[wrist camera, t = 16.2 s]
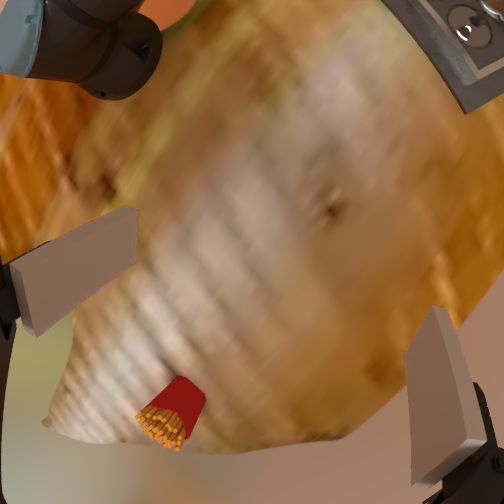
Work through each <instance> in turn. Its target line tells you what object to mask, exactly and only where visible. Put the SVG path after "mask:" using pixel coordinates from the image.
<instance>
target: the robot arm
mask: <svg viewBox="0 0 504 504" xmlns="http://www.w3.org/2000/svg"><path fill="white" fill-rule="evenodd" d="M141 1H142V0H8V1H7V3H6V4H5V6H4V8H3V10H2V12H1V15H0V72H1V73H4V74H9V75H15V76H18V77H20V78H35V79H45V80H55V81H63V82H71V83H75V84H77V85H78V86H79V87H81V88H82V89H84V90H85V91H86V92H88V93H89V94H91V95H92V96H94V97H96V98H99V99H105V100H120V99H123V98H126V97H128V96H130V95H132V94H133V93H135V92H136V91H137V90H139V89H140V88H141V87H142V86H143V85H144V84H145V83H146V82H147V80H148V79H149V78H150V76H151V75H152V73H153V72H154V70H155V68H156V66H157V63H158V61H159V58H160V54H161V48H162V38H161V33H160V30H159V28H158V27H157V25H156V24H155V22H153V21H152V20H151V19H149V18H148V17H146V16H144V15H142V14H140V13H137V12H129V11H130V10H131V9H132V8H133V7H135V6H136V5H137V4H139V3H140V2H141ZM138 213H139V210H138V209H135V208H132V207H129V206H123V207H121V208H119V209H117V210H114V211H112V212H110V213H108V214H106V215H103V216H101V217H99V218H97V219H95V220H93V221H91V222H88V223H86V224H84V225H82V226H80V227H78V228H76V229H74V230H72V231H70V232H68V233H66V234H64V235H62V236H60V237H58V238H56V239H54V240H52V241H48V242H45V243H43V244H41V245H39V246H38V247H37V248H34V249H32V250H30V251H29V253H28V252H26V253H24V254H23V255H21V256H19V257H17V258H15V259H13V260H12V261H10V262H8V263H6V264H4V265H3V266H2V261H1V256H0V504H7V503H6V500H5V499H4V496H3V493H2V484H1V440H2V422H3V410H4V400H5V390H6V384H7V377H8V370H9V364H10V358H11V353H12V348H13V342H14V338H15V333H16V321H15V320H16V319H18V318H19V317H20V316H21V319H22V323H23V326H24V329H25V330H26V331H27V332H29V333H30V334H32V335H33V336H34V337H36V338H38V337H39V336H40V335H41V334H43V333H44V332H45V331H46V330H47V329H49V328H50V327H51V326H53V325H54V324H55V323H57V322H58V321H59V320H60V319H62V318H63V317H64V316H66V314H68V313H69V312H71V311H72V310H73V309H75V308H76V307H77V306H78V305H80V304H81V303H82V302H84V301H85V300H86V299H88V298H89V297H90V296H92V295H93V294H94V293H96V292H97V291H98V290H100V289H101V288H102V287H104V286H105V285H106V284H108V283H109V282H110V281H112V280H113V279H115V278H116V277H117V276H119V275H120V274H121V273H123V272H124V271H126V270H127V269H128V268H130V267H131V266H132V265H134V264H135V263H136V248H137V228H138ZM404 362H405V371H406V380H407V390H408V401H409V416H410V434H411V435H410V436H411V486H413V487H424V488H431V487H432V486H434V485H435V484H436V483H437V482H439V481H440V480H442V489H441V490H439V491H438V492H437V493H435V494H434V495H432V496H431V497H429V498H428V499H426V500H425V501H424V502H422V503H423V504H426V503H427V502H428V503H427V504H504V449H503V448H500V447H498V446H497V441H496V437H495V433H494V428H493V425H492V421H491V417H490V416H489V415H490V413H489V409H488V407H487V402H486V399H485V395H484V393H483V391H482V390H481V388H480V387H479V385H478V384H477V383H475V382H472V379H471V376H470V372H469V369H468V366H467V363H466V360H465V357H464V354H463V351H462V348H461V345H460V342H459V340H458V337H457V334H456V331H455V329H454V326H453V323H452V321H451V318H450V316H449V313H448V311H447V310H446V309H443V308H440V307H437V306H434V305H432V307H431V309H430V310H429V312H428V314H427V316H426V318H425V320H424V321H423V323H422V325H421V327H420V328H419V330H418V332H417V334H416V335H415V337H414V339H413V340H412V342H411V344H410V345H409V347H408V349H407V350H406V352H405V354H404Z"/></svg>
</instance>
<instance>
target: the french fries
mask: <svg viewBox="0 0 504 504" xmlns="http://www.w3.org/2000/svg"><path fill="white" fill-rule="evenodd" d="M205 401H206V398H205V395H204V393H203V392H202V391H201V390H200V389H199V388H198V387H196V386H195V385H194V384H193V383H192V382H191V381H190V380H188V379H187V378H185V377H182V376H178V377H177V378H175V379H174V380H173V381H172V382H171V383H170V384H169V385H168V386H167V387H166V388H165V389H164V390H163V391H162V392H161V393H160V394H158V395H157V396H156V397H155V398H154V399H153V400H152V401H151V402H150V403H149V404H148V405H147V406H146V407H145V408H144V409H142V410H141V411H139V413H138V414H137V415H136V416H135V418H136V420H138V419H140V418H141V417H142V418H141V419H140V420H139V421H138V423H139V424H140V427H141V428H142V429H144V428H146V427H147V426H148V425H149V423H150V422H151V421H152V420H153V421H152V422H151V424H150V425H149V426H148V427H147V428H146V429H145V431H144V433H145V434H149V438H150V439H152V438H154V439H155V440H158V443H159V444H161V443H163V442H164V444H163V446H164V447H168V448H169V449H170V448H172V447H173V445H174V444H177V445H176V447H175V450H176V451H177V452H178V451H179V450H180V448H181V446H182V444H183V442H184V440H186V439H188V438H190V435H191V433H192V431H193V428H194V426H195V424H196V422H197V419H198V417H199V415H200V413H201V410H202V408H203V406H204V403H205Z"/></svg>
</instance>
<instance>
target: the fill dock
mask: <svg viewBox="0 0 504 504" xmlns="http://www.w3.org/2000/svg"><path fill="white" fill-rule="evenodd" d="M381 1H382V2H383V3H384V4H385V5H386V6H387V7H388V9H389V10H390V11H391V12H392V13H393V14H394V15H395V16H396V18H397V19H398V20H399V21H400V22H401V23H402V25H403V26H404V27H405V28H406V29H407V31H408V32H409V33H410V34H411V36H412V37H413V38H414V39H415V41H416V42H417V43H418V45H419V46H420V47H421V49H422V50H423V51H424V53H425V54H426V55H427V57H428V58H429V59H430V61H431V62H432V64H433V65H434V66H435V68H436V69H437V71H438V72H439V74H440V75H441V77H442V78H443V80H444V81H445V83H446V84H447V86H448V87H449V89H450V91H451V92H452V94H453V95H454V97H455V99H456V100H457V102H458V104H459V105H460V107H461V109H462V111H463V112H464V114H468V113H470V112H471V111H473V110H475V109H476V108H478V107H480V106H482V105H483V104H485V103H487V102H488V101H490V100H492V99H494V98H495V97H497V96H499V95H500V94H502V93H504V24H502V23H499V22H497V21H495V20H494V19H492V18H491V17H486V19H487V20H488V22H489V24H490V26H491V29H492V33H493V39H492V42H491V44H490V45H489V46H488V47H487V48H484V49H475V48H472V47H470V46H468V45H466V44H464V43H463V42H462V41H461V40H459V39H458V38H457V37H456V35H455V34H454V33H453V31H452V30H451V28H450V26H449V23H448V18H447V16H448V11H449V9H450V8H451V7H452V6H454V5H456V4H466V5H469V6H471V7H473V8H475V9H477V10H478V11H479V12H480V10H481V7H480V6H479V4H478V3H477V1H476V0H381Z"/></svg>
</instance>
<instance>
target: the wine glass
mask: <svg viewBox="0 0 504 504" xmlns="http://www.w3.org/2000/svg"><path fill="white" fill-rule="evenodd" d="M476 1H477V3H478V4H479V6H480V7H481V10H480V12H479V11H478V10H477V9H475V8H473V7H471V6H469V5H466V4H456V5H454V6H452V7H451V8H450V9H449V11H448V16H447V18H448V23H449V26H450V28H451V30H452V31H453V33H454V34H455V35H456V37H457V38H458V39H459V40H461V41H462V42H463V43H464V44H466V45H468V46H470V47H472V48H475V49H484V48H487V47H488V46H489V45H490V44H491V42H492V39H493V33H492V29H491V26H490V24H489V22H488V20H487V19H486V17H491V18H492V19H494V20H495V21H497V22H499V23H502V24H504V0H476Z"/></svg>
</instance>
